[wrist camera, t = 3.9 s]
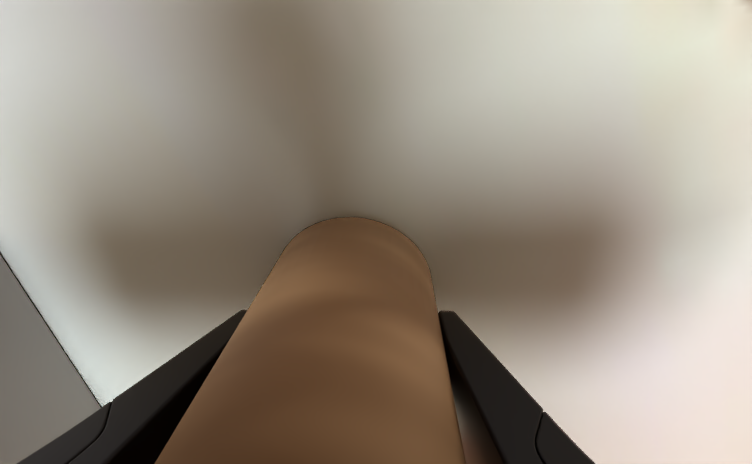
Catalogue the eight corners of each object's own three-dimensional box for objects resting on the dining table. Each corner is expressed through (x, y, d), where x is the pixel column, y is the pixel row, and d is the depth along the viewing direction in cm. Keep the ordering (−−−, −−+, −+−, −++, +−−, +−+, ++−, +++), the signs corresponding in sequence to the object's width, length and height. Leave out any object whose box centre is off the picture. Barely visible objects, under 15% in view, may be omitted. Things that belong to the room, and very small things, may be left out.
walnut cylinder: (435, 215, 9) (530, 535, 3) (429, 345, 11) (473, 684, 5) (262, 218, 9) (2, 513, 3) (289, 344, 12) (169, 664, 5)
